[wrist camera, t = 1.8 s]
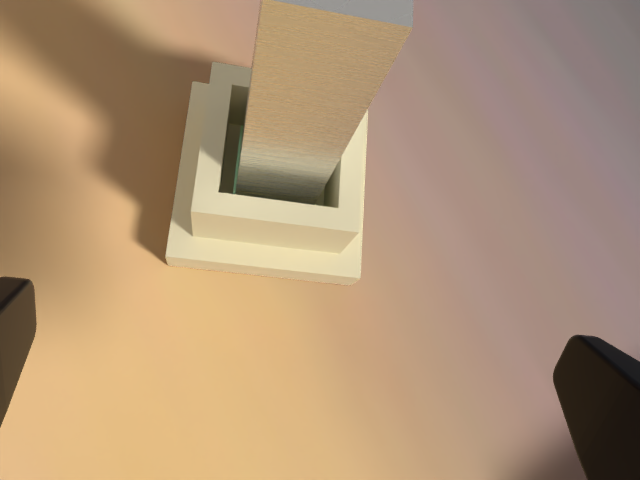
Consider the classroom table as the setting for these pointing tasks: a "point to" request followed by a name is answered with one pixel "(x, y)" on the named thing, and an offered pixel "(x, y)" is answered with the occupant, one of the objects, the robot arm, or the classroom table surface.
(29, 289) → the robot arm
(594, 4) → the classroom table surface
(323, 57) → the block
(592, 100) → the classroom table surface
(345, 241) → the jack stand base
